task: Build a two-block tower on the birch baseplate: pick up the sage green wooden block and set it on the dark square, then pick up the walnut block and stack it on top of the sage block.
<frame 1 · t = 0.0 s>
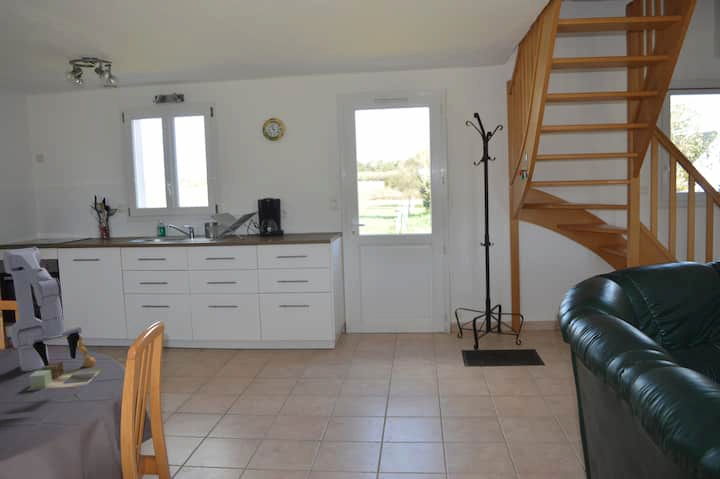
hand: (60, 361, 166), 11 cm above the table, tool pointing down, fingers open, 7 cm apart
walnut block: (53, 375, 180), point 1 cm above the table, touching baseplate
baseplate: (66, 382, 177), on the table
sage block: (41, 385, 173), point 1 cm above the table, touching baseplate
figurine: (86, 369, 189), on the table
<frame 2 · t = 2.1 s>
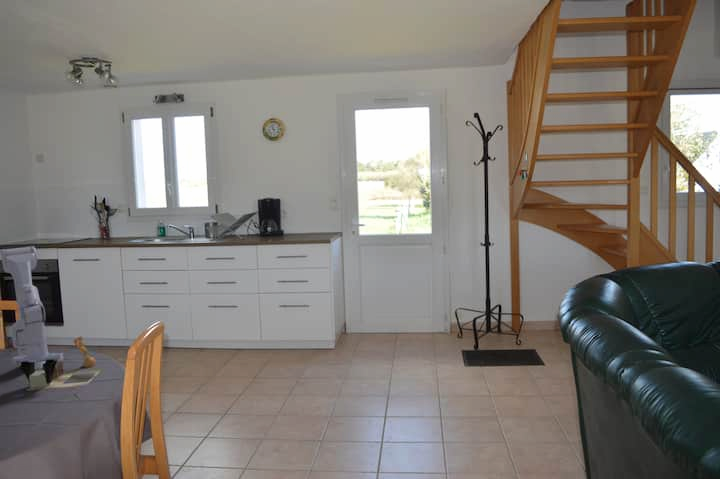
hand: (41, 383, 173), 2 cm above the table, tool pointing down, fingers closed on sage block, 4 cm apart
sage block: (41, 385, 173), point 1 cm above the table, touching baseplate, gripper
everything else where it was.
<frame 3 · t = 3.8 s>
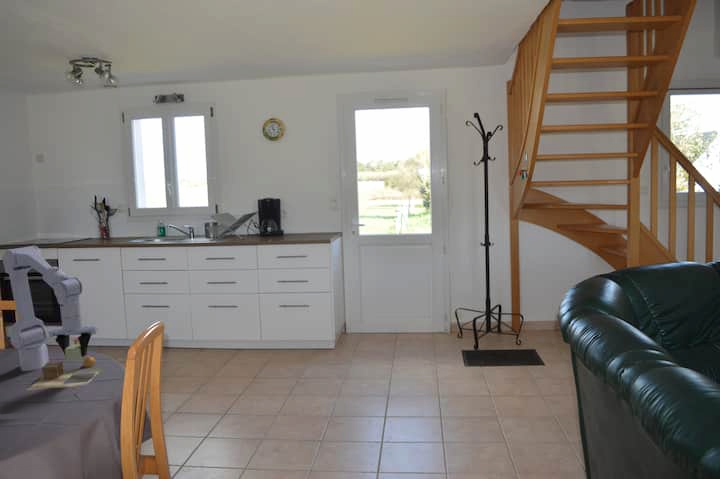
hand: (76, 356, 176), 9 cm above the table, tool pointing down, fingers closed on sage block, 4 cm apart
sage block: (76, 358, 176), point 8 cm above the table, touching gripper
everything else where it was.
when the fingers open (3 cm above the table, at t = 5.5 s): sage block stays where it is, resting on baseplate.
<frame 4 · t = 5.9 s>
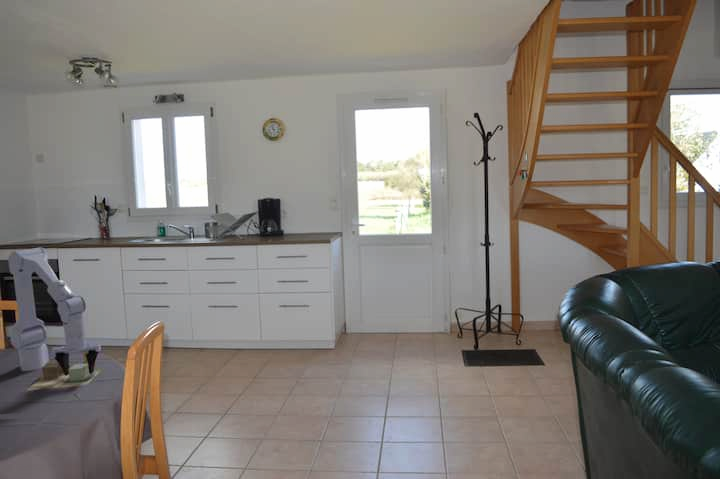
hand: (79, 373, 177), 3 cm above the table, tool pointing down, fingers open, 7 cm apart
sage block: (79, 378, 177), point 1 cm above the table, touching baseplate
everything else where it was.
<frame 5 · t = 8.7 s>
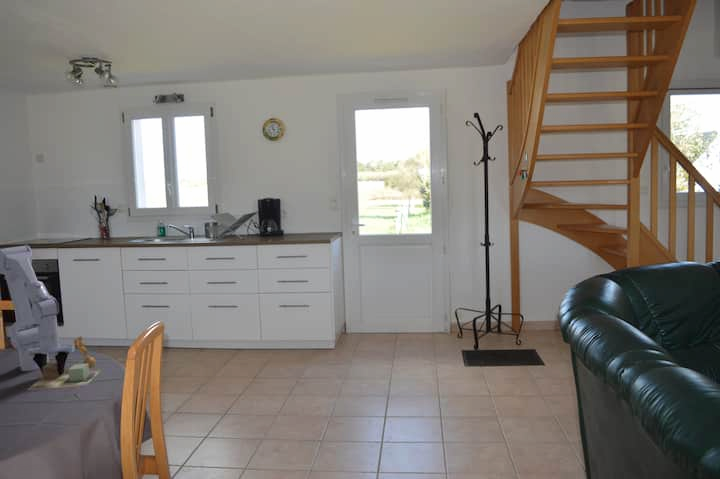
hand: (53, 374, 180), 2 cm above the table, tool pointing down, fingers closed on walnut block, 4 cm apart
walnut block: (53, 375, 180), point 1 cm above the table, touching baseplate, gripper
everything else where it was.
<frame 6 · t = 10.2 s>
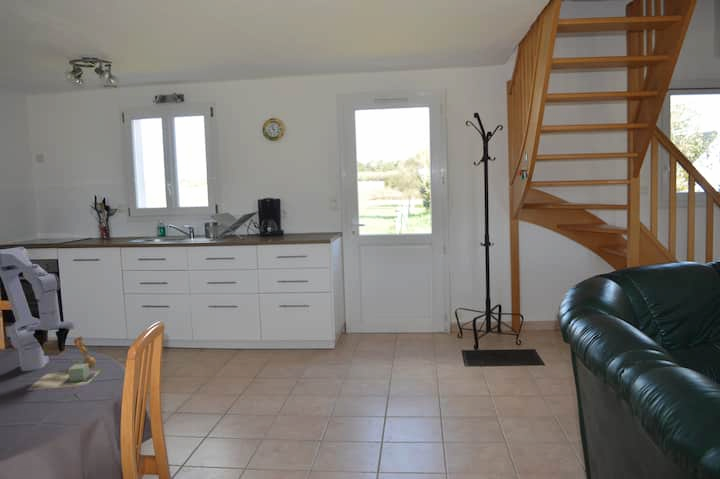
hand: (54, 351, 179), 10 cm above the table, tool pointing down, fingers closed on walnut block, 4 cm apart
walnut block: (54, 353, 179), point 9 cm above the table, touching gripper
everything else where it was.
when the fingers open (7 cm above the table, at t = 11.9 s): walnut block stays where it is, resting on sage block.
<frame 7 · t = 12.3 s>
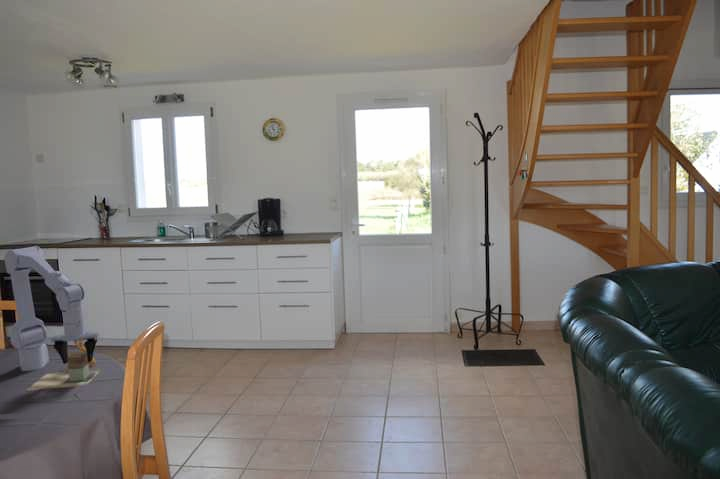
hand: (78, 361, 177), 7 cm above the table, tool pointing down, fingers open, 7 cm apart
walnut block: (78, 366, 177), point 5 cm above the table, touching sage block
sage block: (79, 378, 177), point 1 cm above the table, touching baseplate, walnut block
everything else where it was.
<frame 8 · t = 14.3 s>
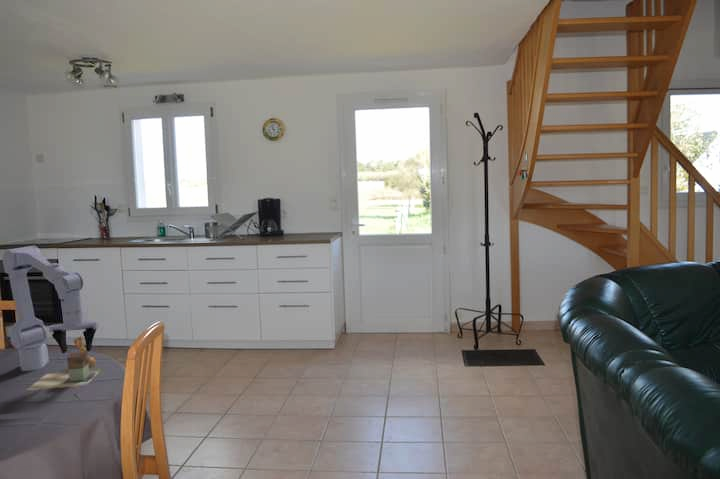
hand: (76, 351, 176), 10 cm above the table, tool pointing down, fingers open, 7 cm apart
nothing on the table moved.
at the end: sage block 0.1 cm from the target spot, point 1.3 cm above the table; walnut block 0.0 cm off-centre on the sage block, point 4.0 cm above the sage block's base; walnut block tilted 0° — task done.
